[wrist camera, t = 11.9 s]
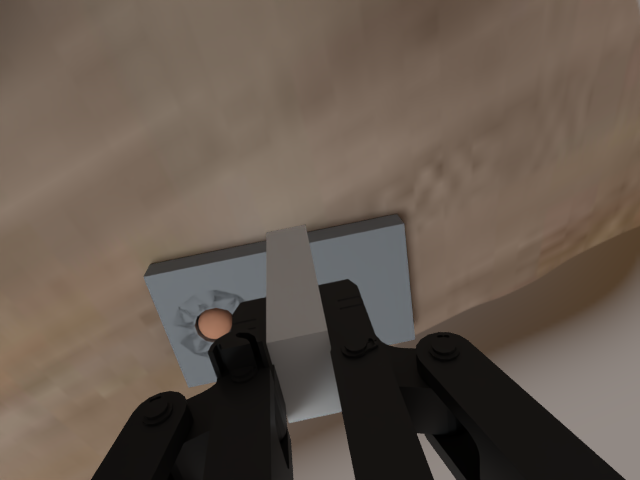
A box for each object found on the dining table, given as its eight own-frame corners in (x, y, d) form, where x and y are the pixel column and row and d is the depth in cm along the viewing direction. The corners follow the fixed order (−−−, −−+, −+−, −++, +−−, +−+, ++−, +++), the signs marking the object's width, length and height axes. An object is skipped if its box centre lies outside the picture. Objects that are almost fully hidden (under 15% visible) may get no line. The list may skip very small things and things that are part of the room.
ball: (243, 329, 45) (221, 331, 47) (232, 298, 44) (211, 301, 46) (220, 344, 42) (197, 345, 44) (209, 311, 42) (186, 314, 44)
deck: (192, 371, 49) (188, 387, 46) (150, 264, 43) (143, 277, 40) (408, 325, 49) (414, 339, 47) (396, 213, 43) (404, 223, 41)
